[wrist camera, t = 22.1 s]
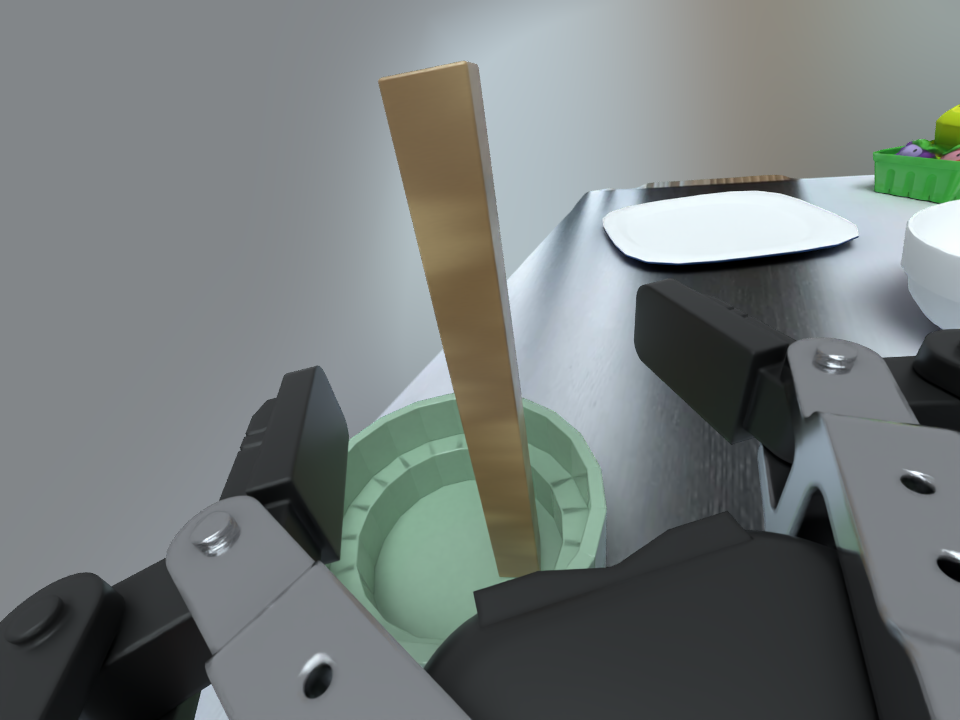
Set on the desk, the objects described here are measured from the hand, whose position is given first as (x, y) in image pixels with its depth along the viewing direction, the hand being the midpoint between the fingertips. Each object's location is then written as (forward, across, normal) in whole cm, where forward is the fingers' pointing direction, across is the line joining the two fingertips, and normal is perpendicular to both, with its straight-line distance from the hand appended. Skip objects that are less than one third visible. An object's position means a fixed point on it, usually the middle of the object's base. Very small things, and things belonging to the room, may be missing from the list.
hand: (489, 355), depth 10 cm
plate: (+38, -37, +15) cm, 55 cm away
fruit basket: (+34, -65, +15) cm, 75 cm away
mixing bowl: (+4, +2, +14) cm, 15 cm away
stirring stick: (+3, 0, +14) cm, 14 cm away
